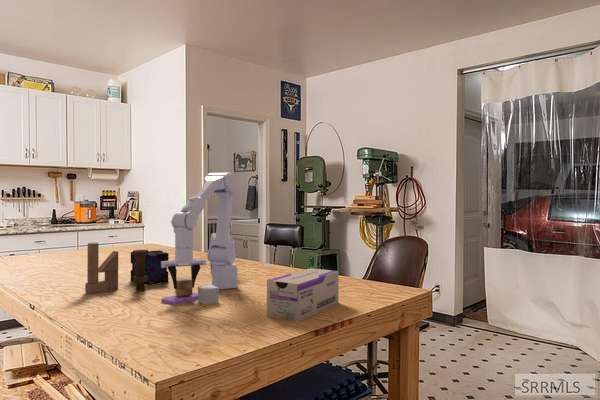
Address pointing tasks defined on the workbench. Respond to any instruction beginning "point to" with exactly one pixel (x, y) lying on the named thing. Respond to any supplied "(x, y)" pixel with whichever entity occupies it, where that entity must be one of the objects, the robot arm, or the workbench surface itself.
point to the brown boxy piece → (183, 286)
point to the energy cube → (152, 267)
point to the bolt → (140, 269)
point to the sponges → (179, 299)
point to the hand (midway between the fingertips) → (183, 287)
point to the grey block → (208, 294)
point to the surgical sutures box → (301, 294)
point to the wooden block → (107, 266)
